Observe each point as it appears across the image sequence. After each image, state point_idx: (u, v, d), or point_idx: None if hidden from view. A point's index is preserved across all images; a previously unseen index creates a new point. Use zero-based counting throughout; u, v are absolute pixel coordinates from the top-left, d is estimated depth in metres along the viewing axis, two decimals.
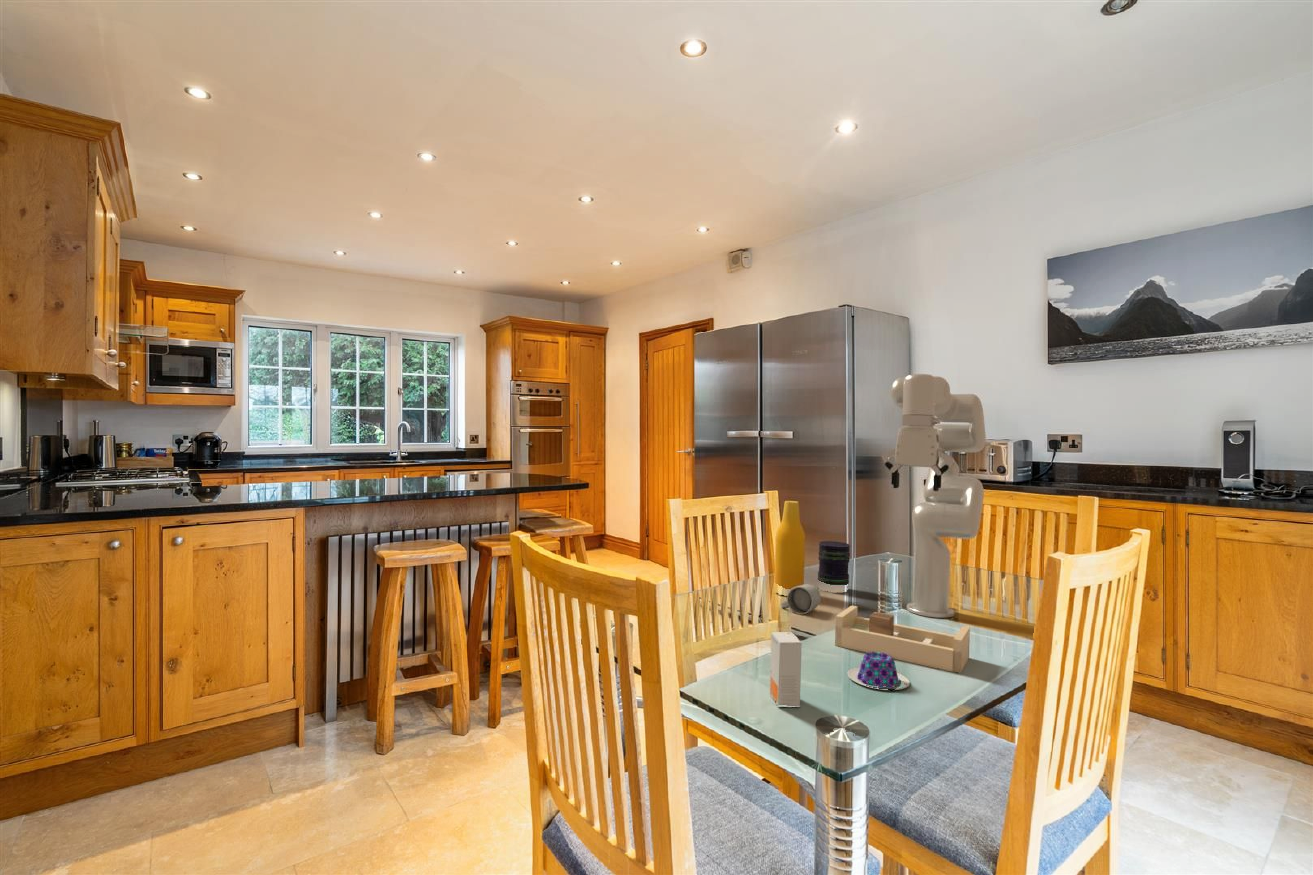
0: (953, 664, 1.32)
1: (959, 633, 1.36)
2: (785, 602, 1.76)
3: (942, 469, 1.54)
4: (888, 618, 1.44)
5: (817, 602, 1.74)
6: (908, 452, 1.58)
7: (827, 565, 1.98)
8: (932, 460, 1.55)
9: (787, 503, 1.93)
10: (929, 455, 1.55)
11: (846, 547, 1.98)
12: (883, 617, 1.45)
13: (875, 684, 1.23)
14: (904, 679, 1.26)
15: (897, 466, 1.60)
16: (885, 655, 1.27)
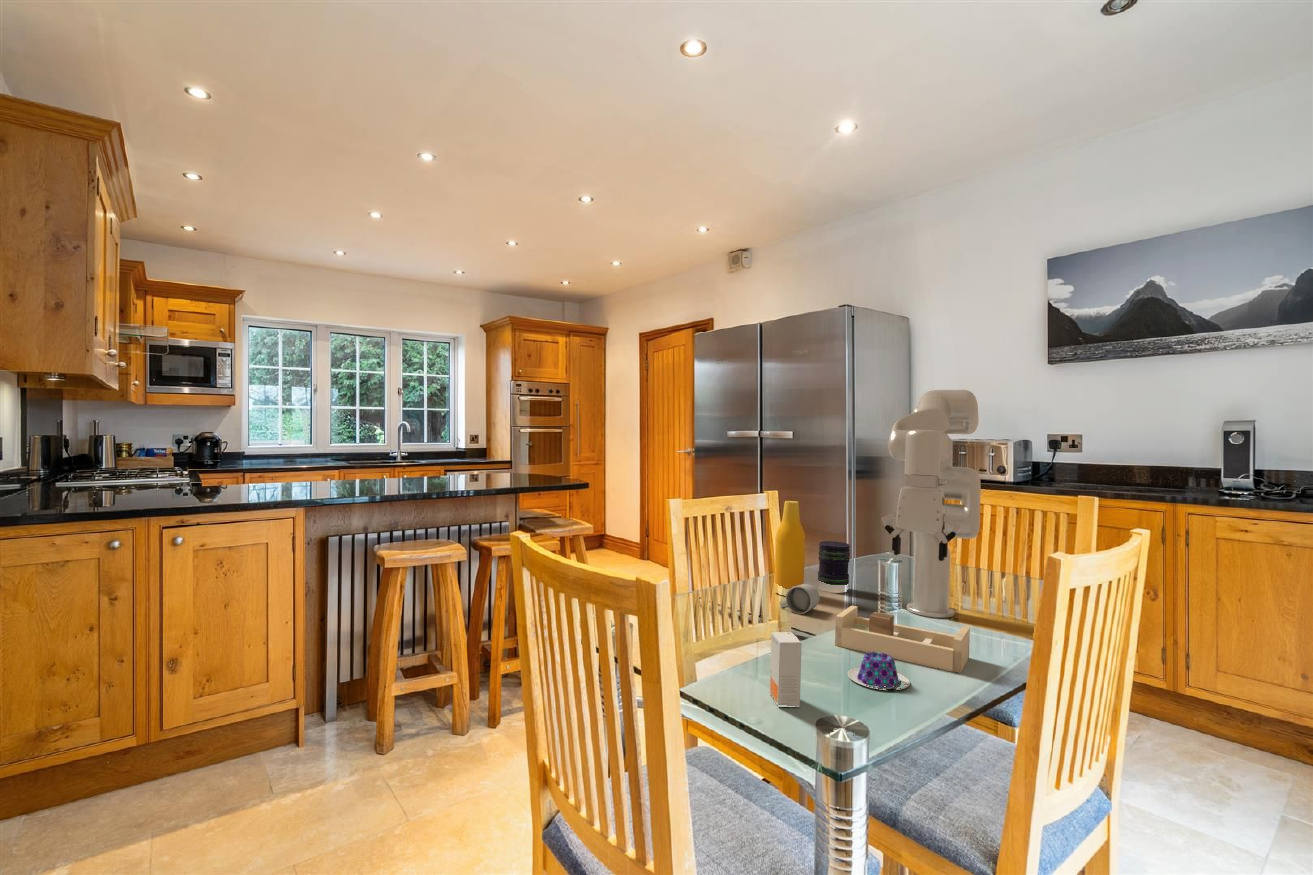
0: (953, 664, 1.32)
1: (959, 633, 1.36)
2: (784, 602, 1.76)
3: (948, 537, 1.39)
4: (888, 618, 1.44)
5: (816, 602, 1.74)
6: (910, 515, 1.42)
7: (827, 565, 1.98)
8: (937, 526, 1.39)
9: (787, 503, 1.93)
10: (934, 520, 1.39)
11: (846, 547, 1.98)
12: (883, 617, 1.45)
13: (875, 684, 1.23)
14: (904, 679, 1.26)
15: (898, 530, 1.44)
16: (885, 655, 1.27)
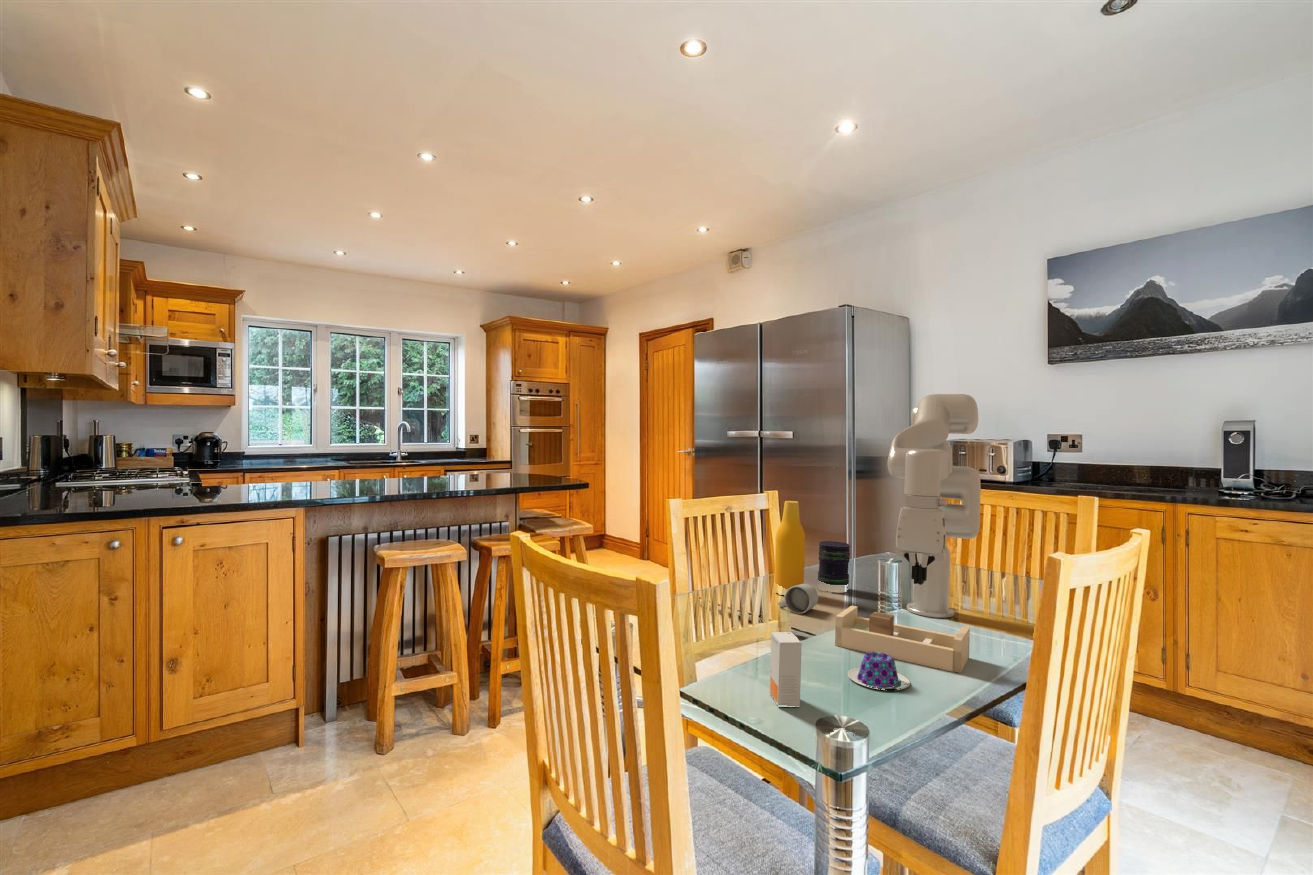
0: (953, 664, 1.32)
1: (959, 633, 1.36)
2: (783, 602, 1.76)
3: (927, 561, 1.40)
4: (888, 618, 1.44)
5: (815, 601, 1.74)
6: (910, 536, 1.41)
7: (827, 565, 1.98)
8: (938, 547, 1.37)
9: (787, 503, 1.93)
10: (934, 542, 1.38)
11: (846, 547, 1.98)
12: (883, 617, 1.45)
13: (875, 684, 1.23)
14: (904, 679, 1.26)
15: (912, 556, 1.41)
16: (885, 655, 1.27)
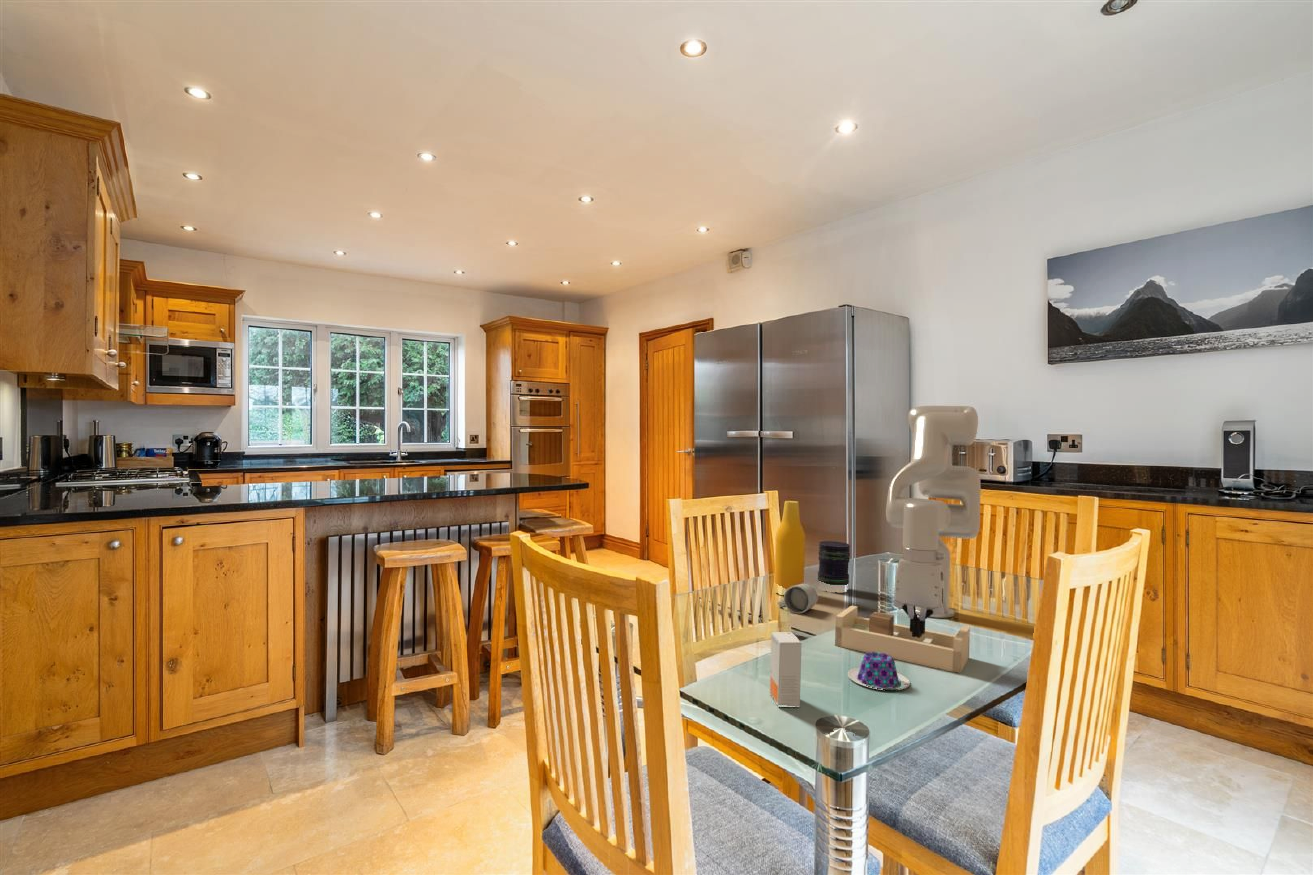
0: (953, 664, 1.32)
1: (959, 633, 1.36)
2: (782, 601, 1.76)
3: (925, 614, 1.40)
4: (888, 618, 1.44)
5: (814, 601, 1.74)
6: (909, 589, 1.41)
7: (827, 565, 1.98)
8: (936, 602, 1.38)
9: (787, 503, 1.93)
10: (932, 596, 1.38)
11: (846, 547, 1.98)
12: (883, 617, 1.45)
13: (875, 684, 1.23)
14: (904, 679, 1.26)
15: (911, 609, 1.41)
16: (885, 655, 1.27)
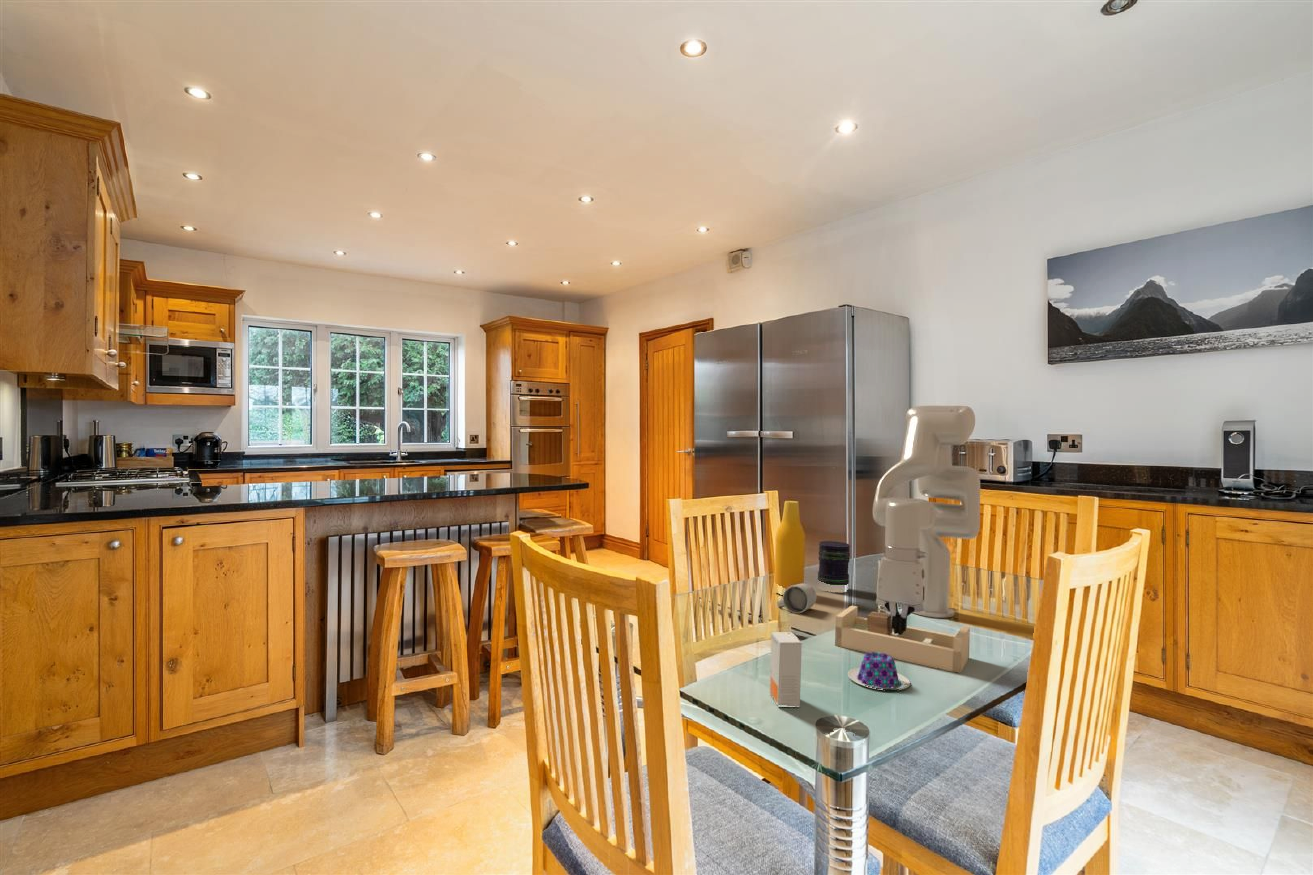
0: (953, 664, 1.32)
1: (959, 633, 1.36)
2: (781, 601, 1.76)
3: (907, 611, 1.42)
4: (886, 617, 1.44)
5: (813, 601, 1.74)
6: (891, 587, 1.43)
7: (827, 565, 1.98)
8: (917, 599, 1.40)
9: (787, 503, 1.93)
10: (914, 593, 1.40)
11: (846, 547, 1.98)
12: (880, 616, 1.45)
13: (875, 684, 1.23)
14: (904, 679, 1.26)
15: (893, 606, 1.44)
16: (885, 655, 1.27)
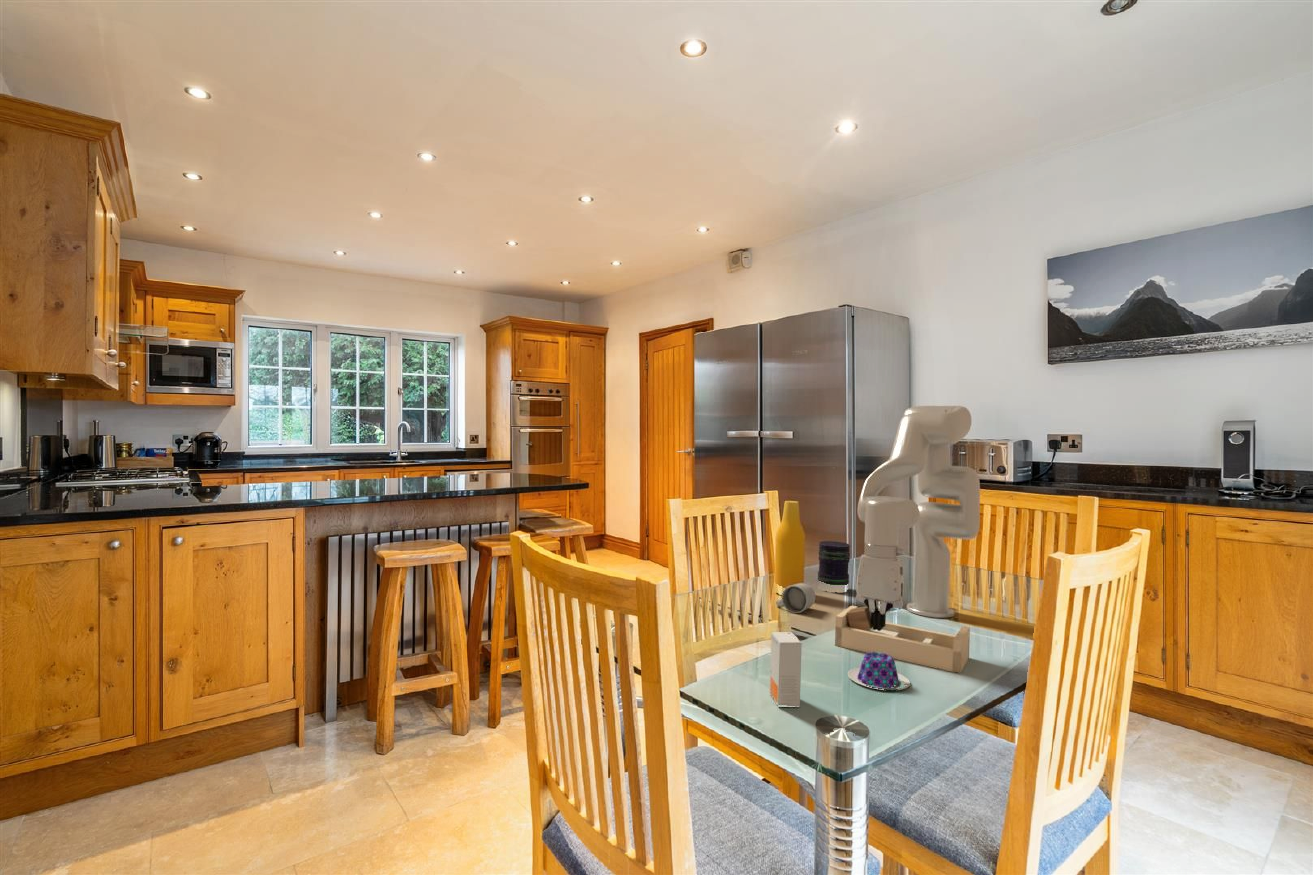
0: (953, 664, 1.32)
1: (959, 633, 1.36)
2: (780, 601, 1.76)
3: (886, 608, 1.45)
4: (863, 609, 1.47)
5: (812, 601, 1.75)
6: (870, 583, 1.46)
7: (827, 565, 1.98)
8: (895, 596, 1.42)
9: (787, 503, 1.93)
10: (892, 590, 1.43)
11: (846, 547, 1.98)
12: (858, 610, 1.47)
13: (875, 684, 1.23)
14: (904, 679, 1.26)
15: (872, 602, 1.46)
16: (886, 655, 1.27)
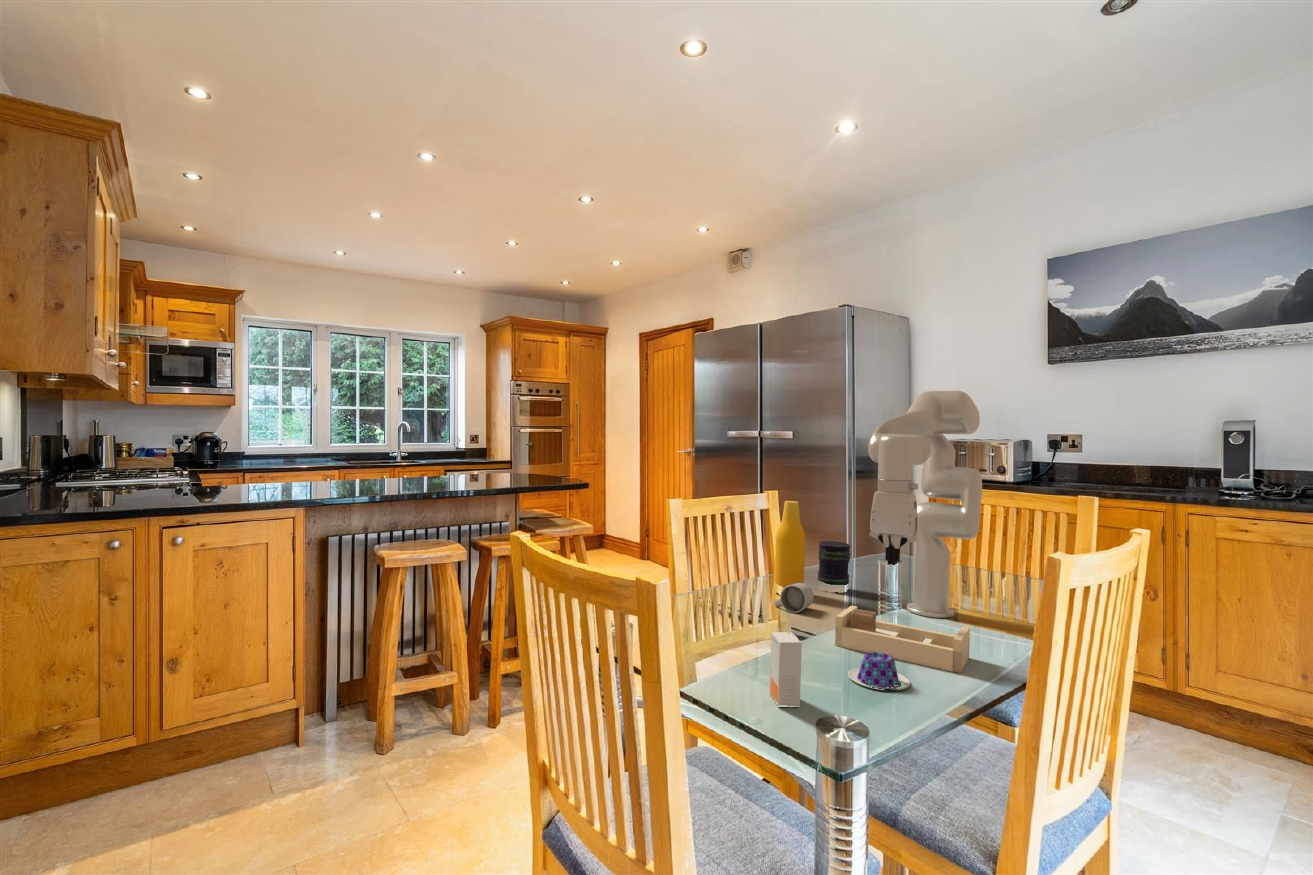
0: (953, 664, 1.32)
1: (959, 633, 1.36)
2: (778, 601, 1.77)
3: (900, 542, 1.45)
4: (871, 615, 1.46)
5: (810, 601, 1.75)
6: (884, 519, 1.46)
7: (827, 565, 1.98)
8: (909, 529, 1.43)
9: (787, 503, 1.93)
10: (906, 524, 1.43)
11: (846, 547, 1.98)
12: (866, 614, 1.46)
13: (874, 684, 1.23)
14: (905, 680, 1.26)
15: (886, 538, 1.47)
16: (886, 655, 1.27)
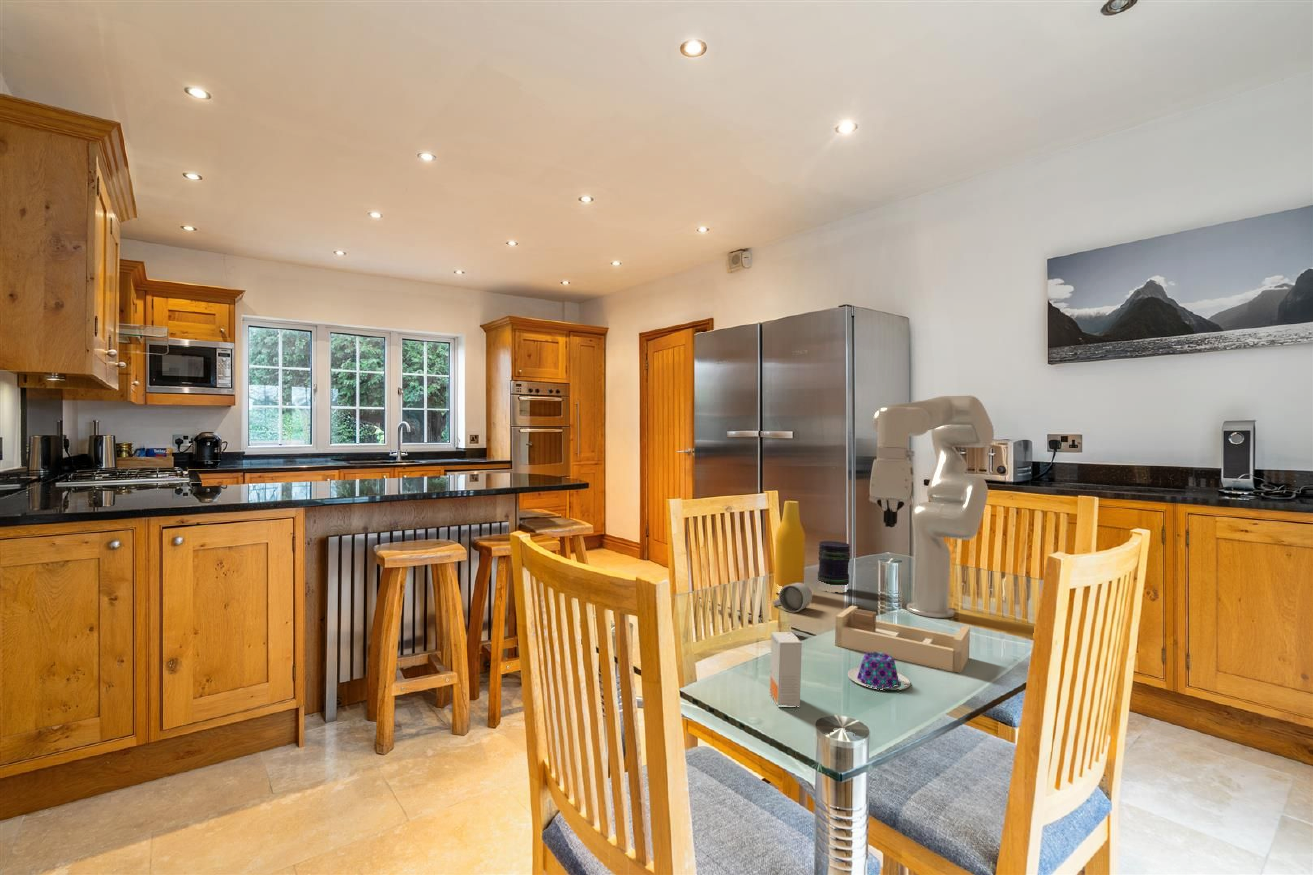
0: (953, 664, 1.32)
1: (959, 633, 1.36)
2: (777, 600, 1.77)
3: (897, 506, 1.56)
4: (871, 615, 1.46)
5: (809, 600, 1.75)
6: (882, 484, 1.57)
7: (827, 565, 1.98)
8: (906, 493, 1.54)
9: (787, 503, 1.93)
10: (903, 488, 1.54)
11: (846, 547, 1.98)
12: (866, 614, 1.46)
13: (873, 684, 1.23)
14: (905, 680, 1.26)
15: (884, 502, 1.58)
16: (886, 656, 1.27)
